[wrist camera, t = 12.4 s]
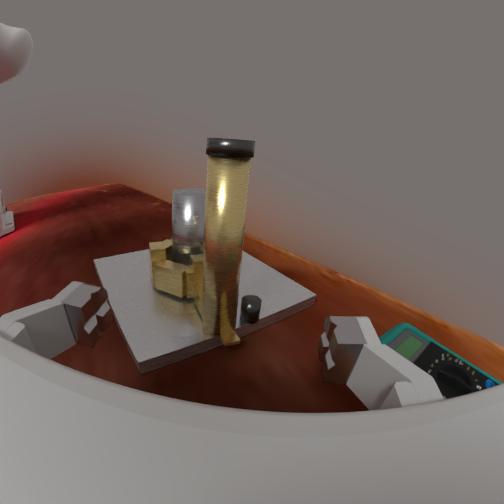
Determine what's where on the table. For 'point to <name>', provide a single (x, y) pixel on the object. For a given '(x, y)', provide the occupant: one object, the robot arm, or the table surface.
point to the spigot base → (184, 309)
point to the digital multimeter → (438, 362)
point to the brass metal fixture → (213, 240)
